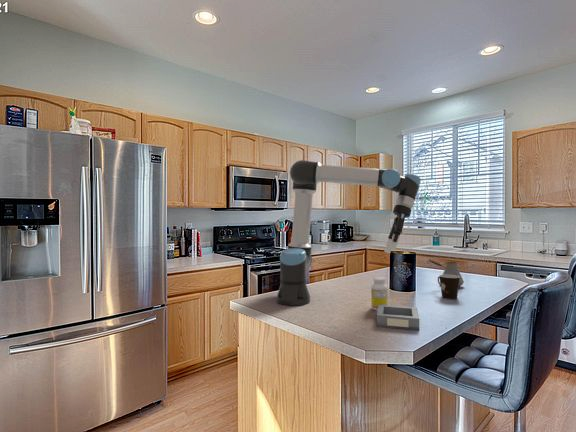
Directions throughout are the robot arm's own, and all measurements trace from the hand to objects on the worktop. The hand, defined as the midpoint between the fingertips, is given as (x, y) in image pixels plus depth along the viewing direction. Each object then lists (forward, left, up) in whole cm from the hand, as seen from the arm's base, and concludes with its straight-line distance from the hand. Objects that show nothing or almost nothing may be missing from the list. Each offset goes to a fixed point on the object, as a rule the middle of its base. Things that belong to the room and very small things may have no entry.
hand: (389, 251), depth 150 cm
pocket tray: (+3, -27, -23) cm, 36 cm away
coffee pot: (+27, +40, -23) cm, 53 cm away
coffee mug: (+26, +18, -23) cm, 39 cm away
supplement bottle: (-4, -12, -23) cm, 26 cm away
